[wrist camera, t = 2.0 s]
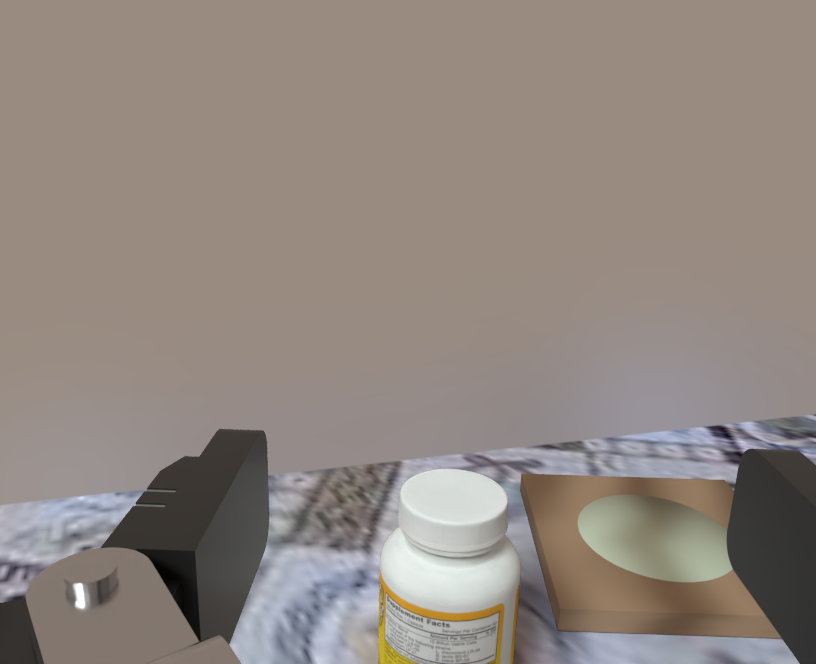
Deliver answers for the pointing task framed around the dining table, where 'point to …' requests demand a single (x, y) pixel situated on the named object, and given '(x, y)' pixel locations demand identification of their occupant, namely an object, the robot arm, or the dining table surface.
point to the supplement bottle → (449, 574)
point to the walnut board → (639, 556)
